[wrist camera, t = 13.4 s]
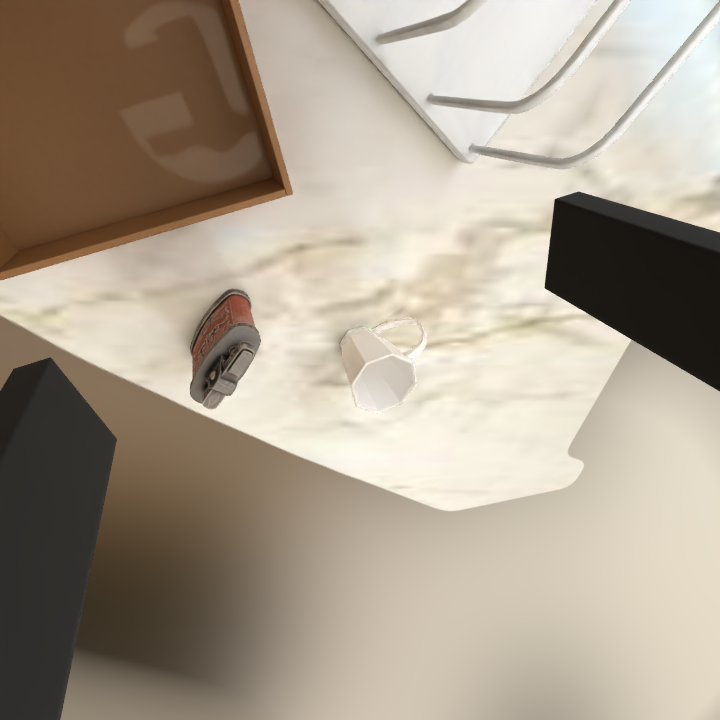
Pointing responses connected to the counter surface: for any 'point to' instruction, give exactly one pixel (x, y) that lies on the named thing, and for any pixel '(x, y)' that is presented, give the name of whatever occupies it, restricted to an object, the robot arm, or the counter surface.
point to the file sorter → (487, 62)
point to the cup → (380, 366)
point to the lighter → (223, 348)
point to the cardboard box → (126, 124)
